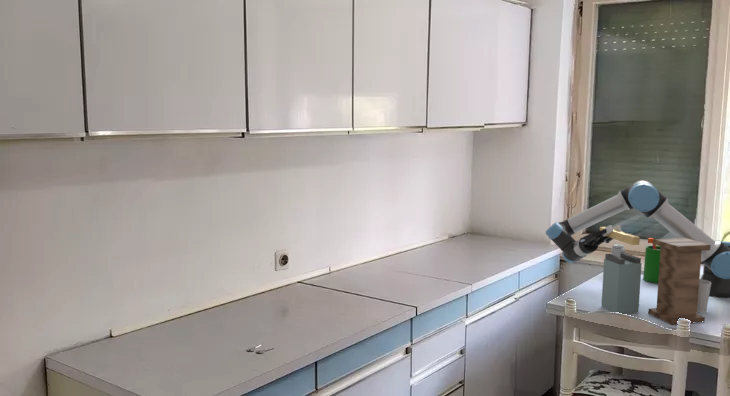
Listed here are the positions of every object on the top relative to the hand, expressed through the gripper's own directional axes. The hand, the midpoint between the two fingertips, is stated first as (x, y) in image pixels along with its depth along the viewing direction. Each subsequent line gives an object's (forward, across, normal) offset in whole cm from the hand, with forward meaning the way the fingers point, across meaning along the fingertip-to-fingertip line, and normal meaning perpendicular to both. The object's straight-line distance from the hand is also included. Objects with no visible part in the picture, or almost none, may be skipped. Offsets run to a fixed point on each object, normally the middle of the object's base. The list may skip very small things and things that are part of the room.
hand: (615, 227), depth 262 cm
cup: (-5, -31, -35) cm, 47 cm away
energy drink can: (-53, -32, -7) cm, 62 cm away
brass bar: (0, 0, -5) cm, 5 cm away
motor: (-43, -44, -13) cm, 63 cm away
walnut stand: (+1, -15, -38) cm, 41 cm away
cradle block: (-11, 0, -31) cm, 33 cm away
